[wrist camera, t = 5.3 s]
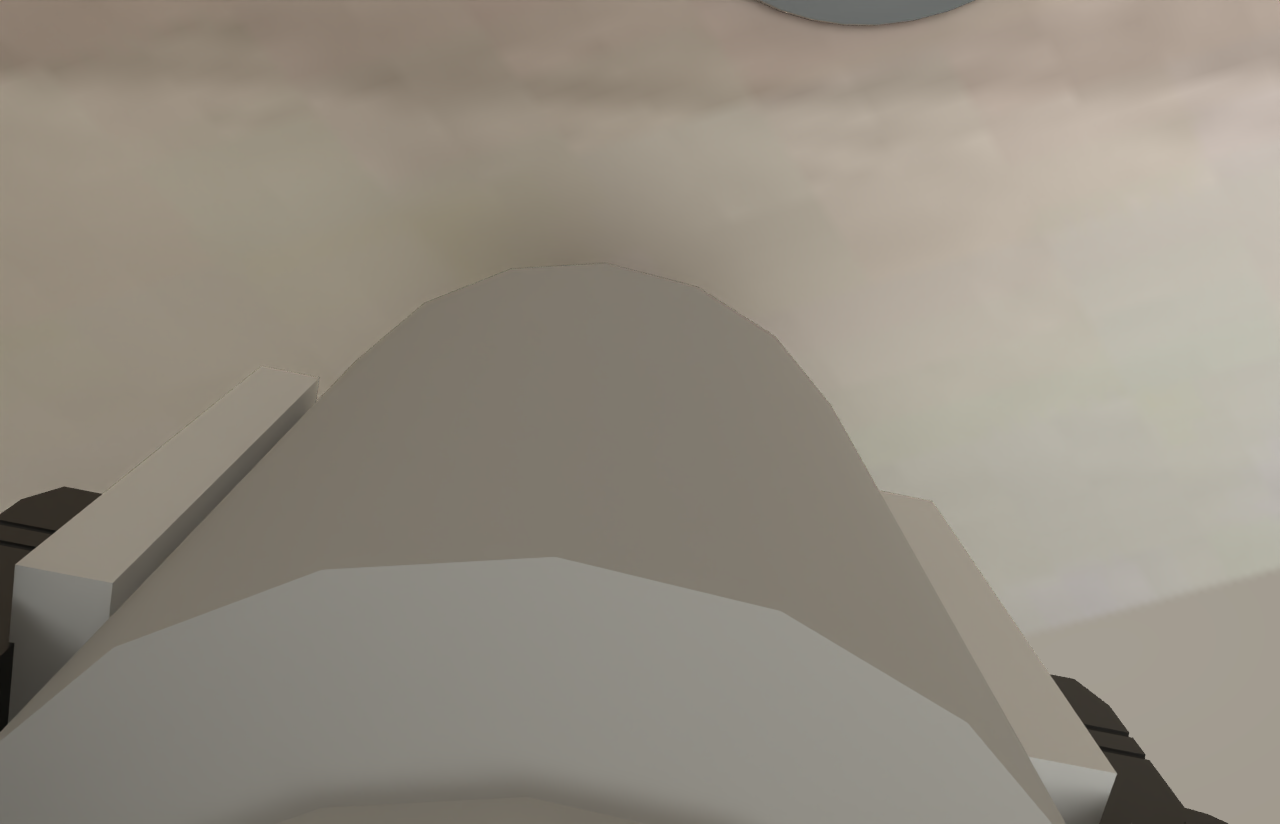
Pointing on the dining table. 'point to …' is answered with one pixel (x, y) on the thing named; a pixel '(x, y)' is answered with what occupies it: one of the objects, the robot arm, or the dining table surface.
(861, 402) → the dining table surface
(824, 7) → the saucer
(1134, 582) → the dining table surface
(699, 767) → the can
